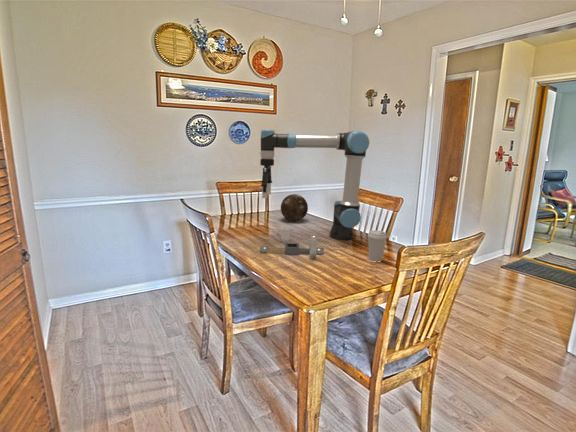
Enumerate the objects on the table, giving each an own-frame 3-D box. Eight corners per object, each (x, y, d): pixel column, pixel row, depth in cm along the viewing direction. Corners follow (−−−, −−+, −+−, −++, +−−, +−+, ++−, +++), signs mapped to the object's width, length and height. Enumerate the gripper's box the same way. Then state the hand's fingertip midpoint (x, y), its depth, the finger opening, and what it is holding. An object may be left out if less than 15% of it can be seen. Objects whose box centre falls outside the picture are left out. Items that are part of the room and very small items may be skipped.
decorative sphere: (307, 224, 239) (309, 197, 234) (279, 223, 239) (280, 196, 234) (306, 218, 258) (307, 192, 254) (280, 217, 258) (281, 191, 254)
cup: (292, 242, 196) (293, 229, 195) (275, 243, 194) (276, 229, 193) (290, 239, 203) (290, 226, 201) (274, 239, 201) (274, 226, 199)
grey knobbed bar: (322, 251, 183) (323, 244, 183) (324, 255, 176) (324, 248, 175) (260, 249, 183) (260, 242, 182) (259, 253, 175) (259, 246, 174)
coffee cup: (374, 265, 165) (377, 235, 162) (361, 258, 174) (364, 230, 170) (388, 262, 170) (391, 233, 166) (375, 256, 178) (378, 229, 175)
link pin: (315, 257, 174) (317, 234, 171) (316, 259, 170) (317, 236, 167) (308, 256, 174) (310, 234, 171) (309, 259, 170) (310, 236, 167)
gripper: (264, 157, 198) (263, 192, 203) (256, 159, 174) (256, 199, 179) (276, 157, 197) (275, 193, 202) (270, 159, 173) (269, 200, 178)
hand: (266, 196), depth 190 cm, fingers open, 13 cm apart
